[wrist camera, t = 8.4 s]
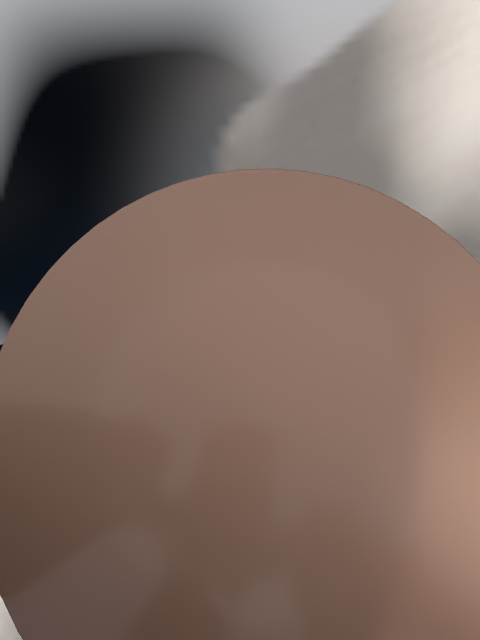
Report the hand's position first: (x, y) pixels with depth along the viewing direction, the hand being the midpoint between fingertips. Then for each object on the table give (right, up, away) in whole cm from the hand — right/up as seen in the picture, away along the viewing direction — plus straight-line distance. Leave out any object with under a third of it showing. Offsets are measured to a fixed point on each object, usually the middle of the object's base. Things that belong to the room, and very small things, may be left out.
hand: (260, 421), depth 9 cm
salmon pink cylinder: (0, -2, +7) cm, 8 cm away
